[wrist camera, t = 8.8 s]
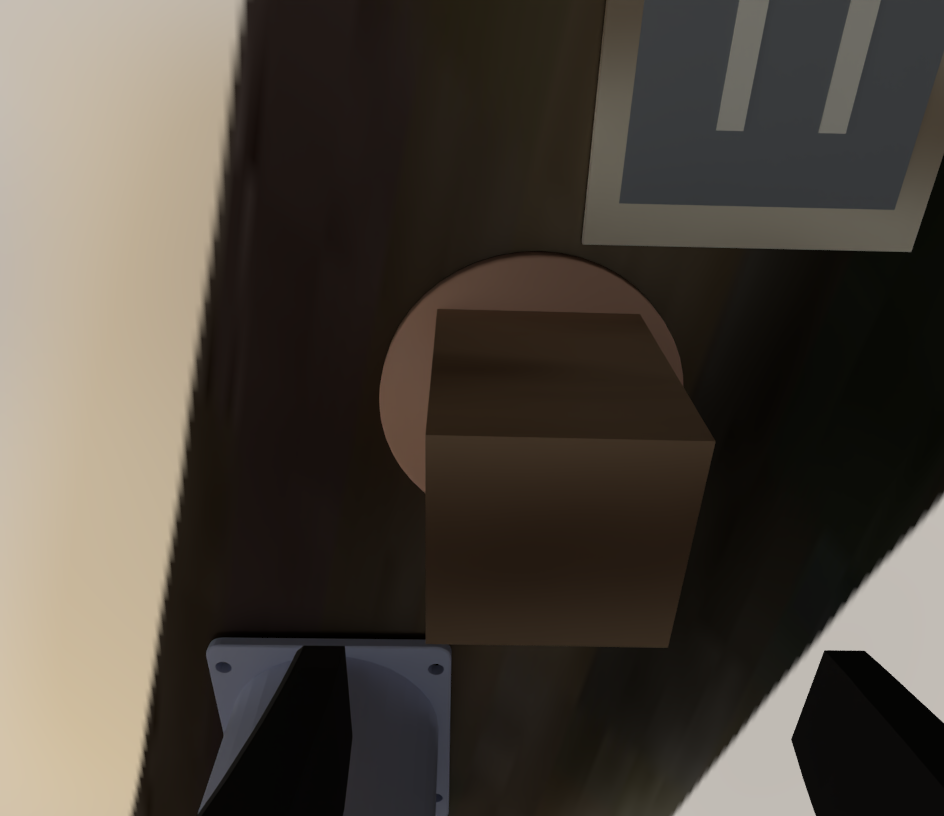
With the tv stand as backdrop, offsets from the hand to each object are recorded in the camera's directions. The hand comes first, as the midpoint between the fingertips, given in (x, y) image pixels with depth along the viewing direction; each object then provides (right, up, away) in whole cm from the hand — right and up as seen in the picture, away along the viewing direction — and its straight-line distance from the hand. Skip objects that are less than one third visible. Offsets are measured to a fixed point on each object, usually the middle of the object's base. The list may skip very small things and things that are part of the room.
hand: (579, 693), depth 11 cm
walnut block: (0, +5, +8) cm, 9 cm away
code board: (+5, +12, +4) cm, 14 cm away
